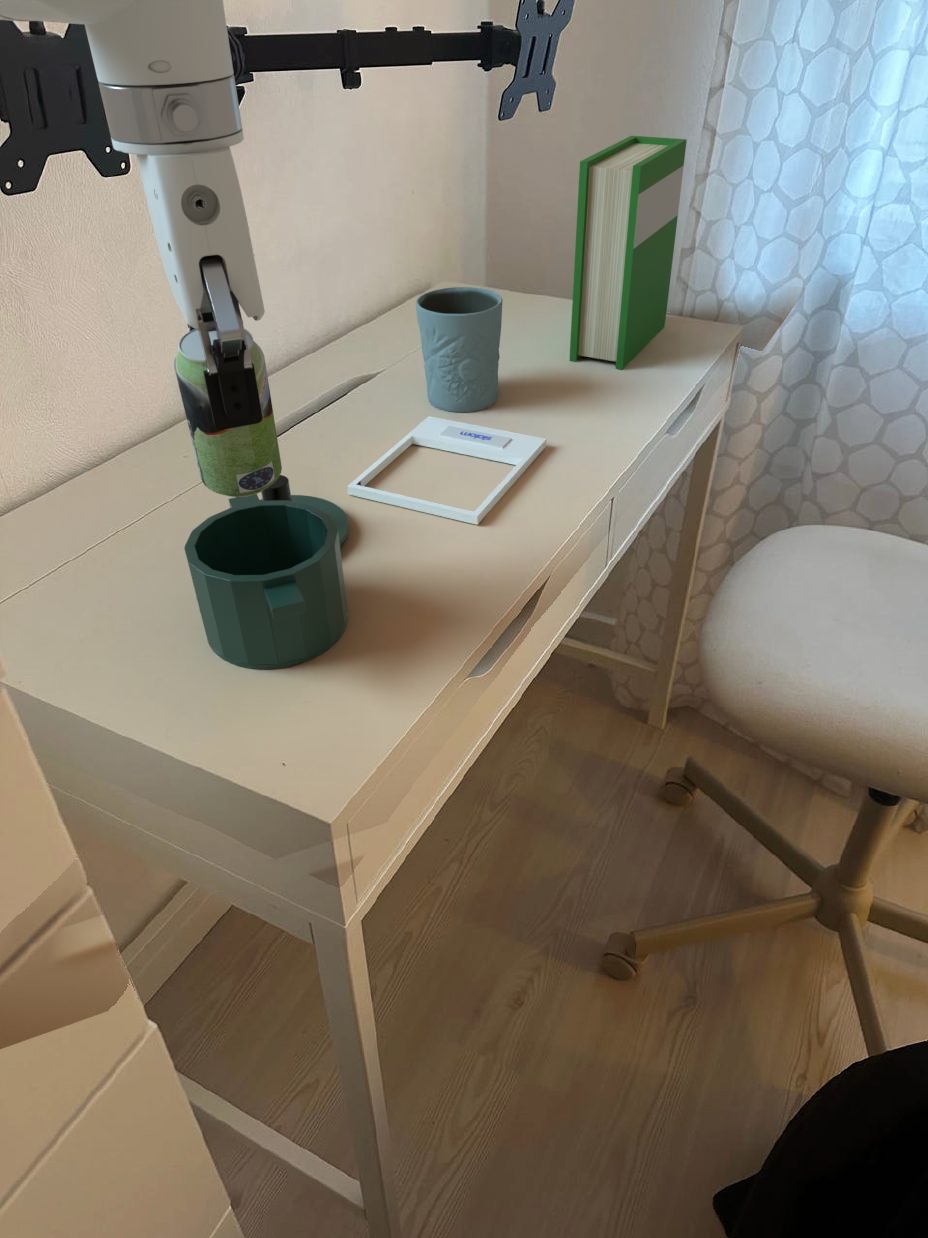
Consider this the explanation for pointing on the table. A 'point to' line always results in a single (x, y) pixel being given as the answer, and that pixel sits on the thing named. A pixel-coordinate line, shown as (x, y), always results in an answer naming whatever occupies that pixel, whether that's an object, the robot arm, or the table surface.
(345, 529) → the lid
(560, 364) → the table surface
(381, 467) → the photo frame
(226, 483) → the beverage can
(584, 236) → the hardback book
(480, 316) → the embossed blue cup
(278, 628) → the pot
